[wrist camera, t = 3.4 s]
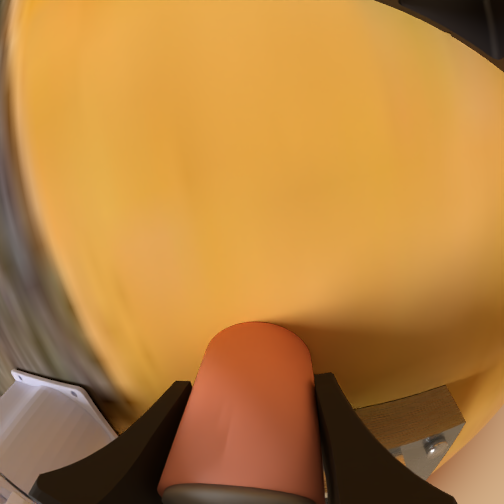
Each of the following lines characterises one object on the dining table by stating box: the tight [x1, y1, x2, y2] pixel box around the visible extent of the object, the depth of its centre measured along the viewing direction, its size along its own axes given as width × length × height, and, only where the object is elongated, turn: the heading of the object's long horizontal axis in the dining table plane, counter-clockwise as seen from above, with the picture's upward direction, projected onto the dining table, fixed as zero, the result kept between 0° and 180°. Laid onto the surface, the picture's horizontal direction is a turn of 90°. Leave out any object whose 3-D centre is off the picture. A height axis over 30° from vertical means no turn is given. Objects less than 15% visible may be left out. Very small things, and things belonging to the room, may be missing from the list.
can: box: [157, 322, 325, 504], centre depth 8 cm, size 5×5×7 cm
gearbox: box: [322, 385, 466, 504], centre depth 11 cm, size 12×9×4 cm
